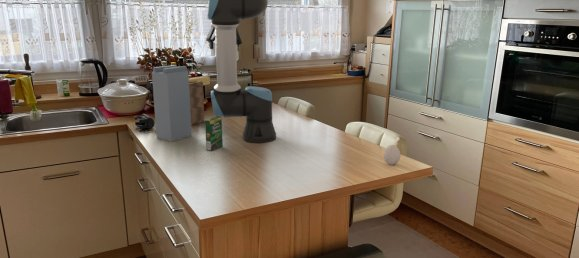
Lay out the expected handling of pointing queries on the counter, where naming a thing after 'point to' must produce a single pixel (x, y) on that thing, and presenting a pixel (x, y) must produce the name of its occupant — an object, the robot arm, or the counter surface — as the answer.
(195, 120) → the tall brown block
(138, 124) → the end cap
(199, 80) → the cream long bar
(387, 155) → the egg
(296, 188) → the counter surface
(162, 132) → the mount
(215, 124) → the coffee box
